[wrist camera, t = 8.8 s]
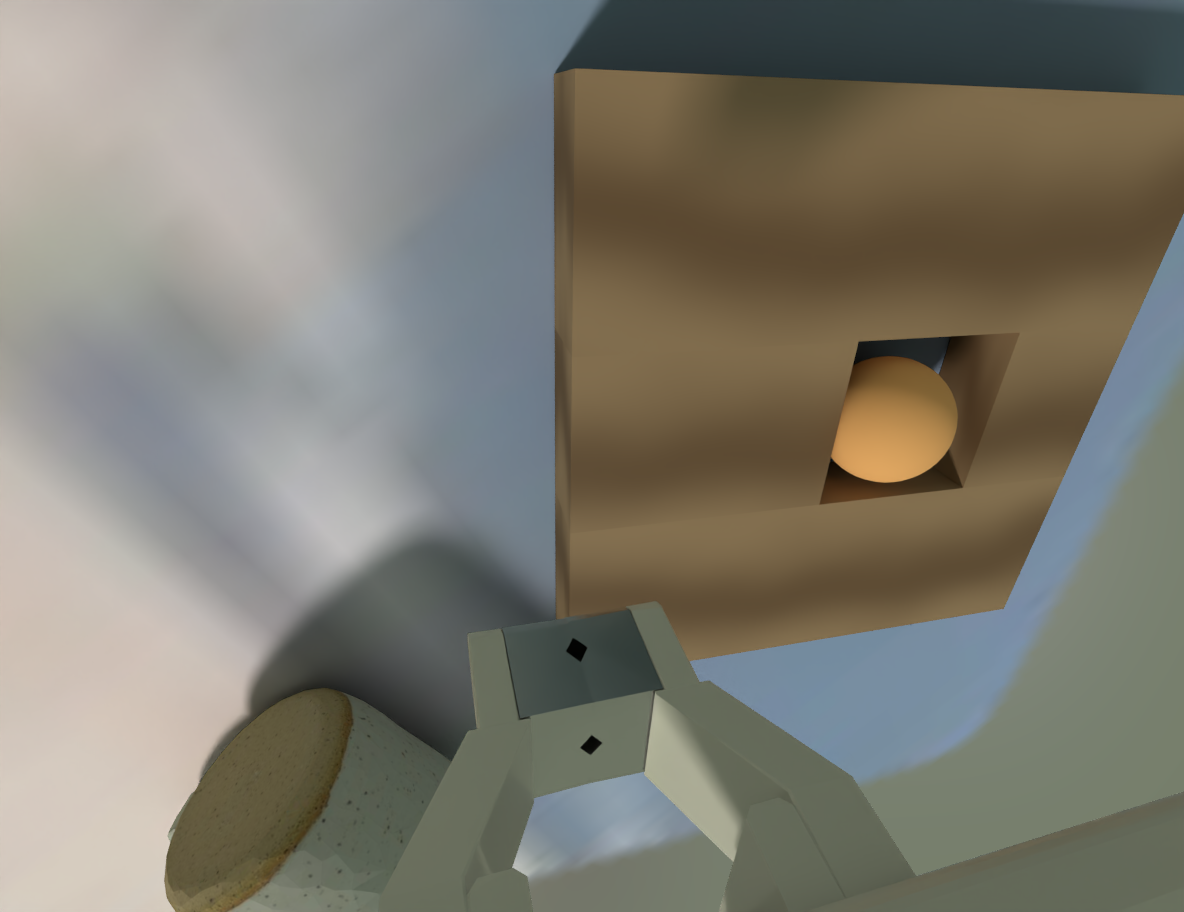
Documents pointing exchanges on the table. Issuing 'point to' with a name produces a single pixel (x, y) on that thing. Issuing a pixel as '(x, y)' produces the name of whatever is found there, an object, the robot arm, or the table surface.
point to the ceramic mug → (302, 811)
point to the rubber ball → (894, 420)
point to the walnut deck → (830, 334)
